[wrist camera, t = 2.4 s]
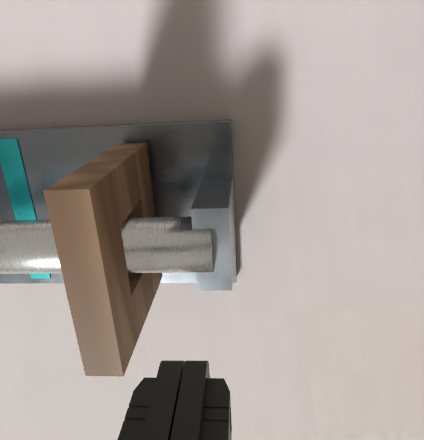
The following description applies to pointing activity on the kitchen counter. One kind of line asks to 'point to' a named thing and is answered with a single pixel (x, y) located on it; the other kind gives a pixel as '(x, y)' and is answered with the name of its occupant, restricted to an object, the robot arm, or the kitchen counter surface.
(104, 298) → the collar
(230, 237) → the rail
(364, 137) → the kitchen counter surface
